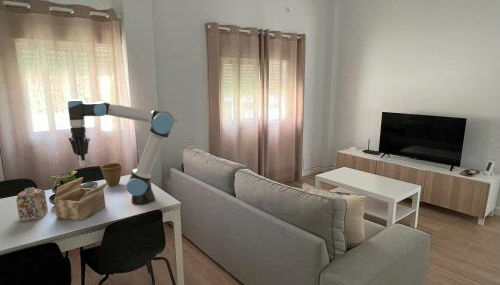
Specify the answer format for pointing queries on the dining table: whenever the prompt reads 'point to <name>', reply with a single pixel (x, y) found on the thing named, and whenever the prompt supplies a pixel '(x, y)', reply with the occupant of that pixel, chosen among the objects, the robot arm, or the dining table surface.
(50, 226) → the dining table surface
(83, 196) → the near flap
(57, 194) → the far flap
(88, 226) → the dining table surface
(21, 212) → the decorative jar
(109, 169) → the plant pot
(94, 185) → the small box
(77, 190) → the carton
